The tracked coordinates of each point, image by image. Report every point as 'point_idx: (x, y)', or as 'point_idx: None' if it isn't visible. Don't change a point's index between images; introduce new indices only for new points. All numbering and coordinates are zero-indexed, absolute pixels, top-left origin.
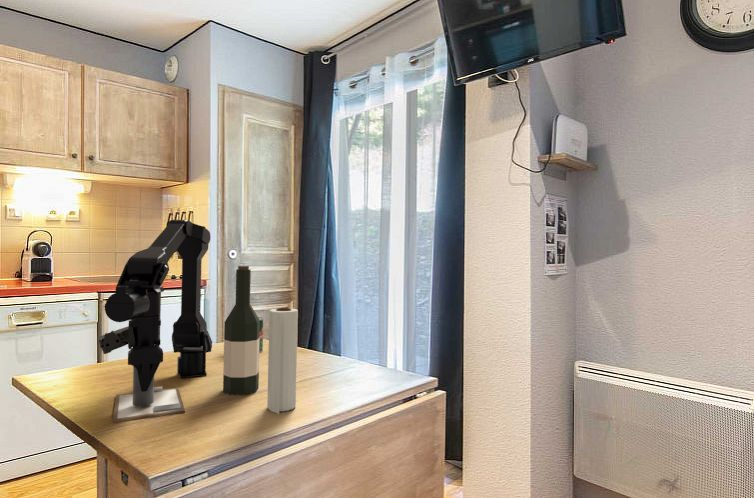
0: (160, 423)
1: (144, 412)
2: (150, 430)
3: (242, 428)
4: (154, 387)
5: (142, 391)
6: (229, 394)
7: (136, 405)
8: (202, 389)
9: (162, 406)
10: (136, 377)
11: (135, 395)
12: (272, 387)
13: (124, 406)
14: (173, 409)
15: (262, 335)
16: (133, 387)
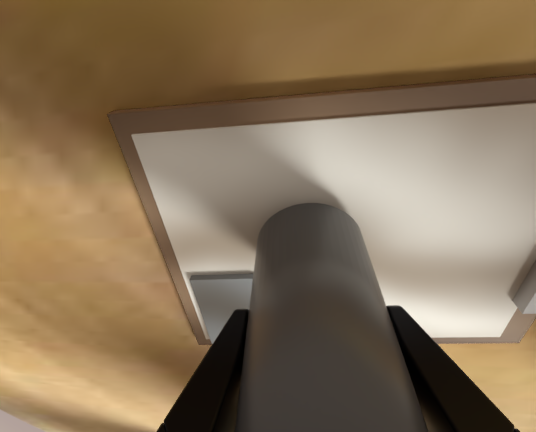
0: (97, 282)
1: (200, 244)
2: (24, 257)
3: (64, 404)
4: None
5: (237, 311)
6: None
7: (265, 223)
8: None
9: (243, 302)
10: (256, 391)
11: (268, 257)
12: None
13: (339, 152)
14: (206, 325)
15: None
16: (294, 286)
